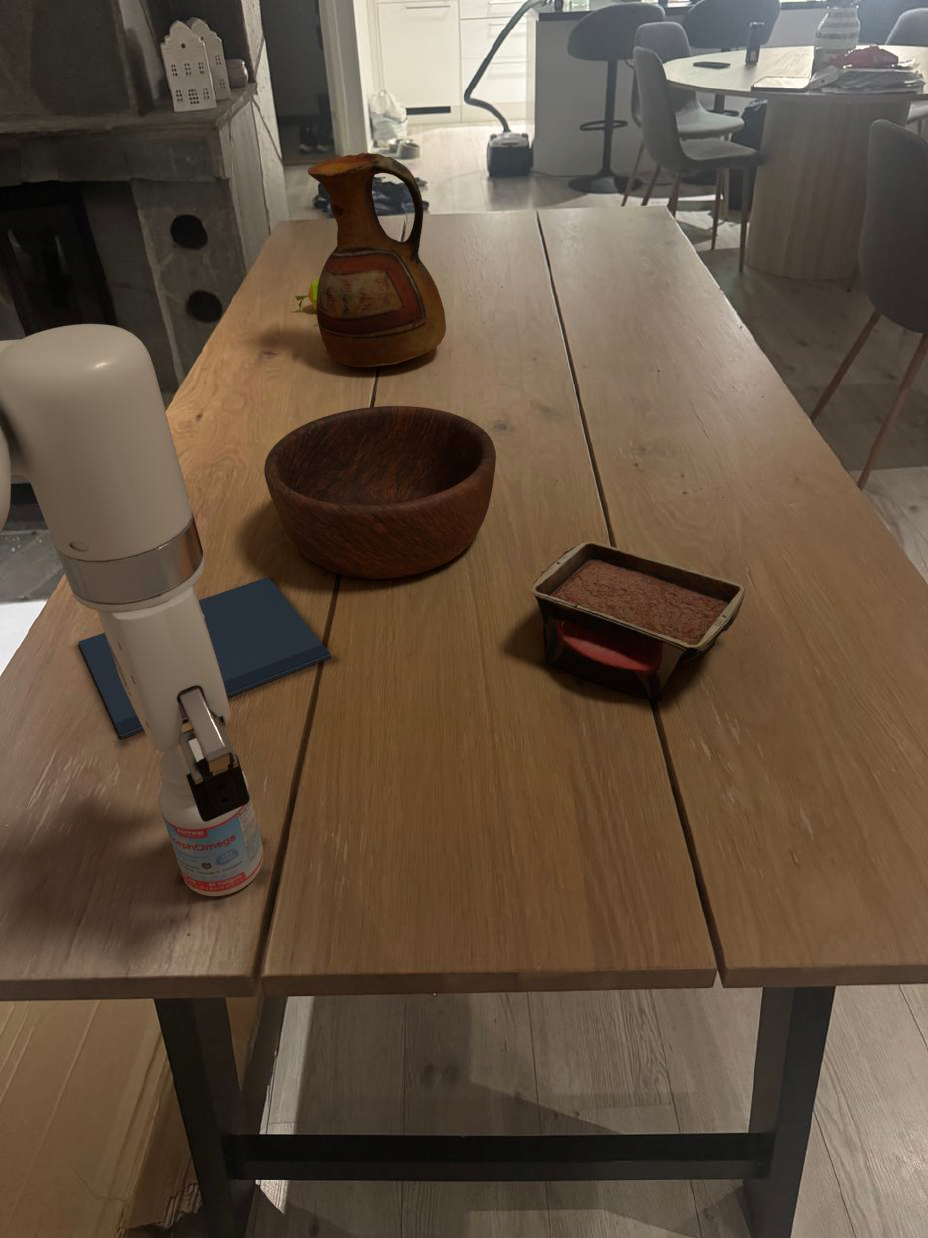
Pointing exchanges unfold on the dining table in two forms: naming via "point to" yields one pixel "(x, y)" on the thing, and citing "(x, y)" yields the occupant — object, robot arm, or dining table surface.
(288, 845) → the dining table surface
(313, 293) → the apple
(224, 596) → the book
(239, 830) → the pill bottle
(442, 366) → the dining table surface
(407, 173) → the ceramic pitcher
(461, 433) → the wooden bowl
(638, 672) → the baking dish
